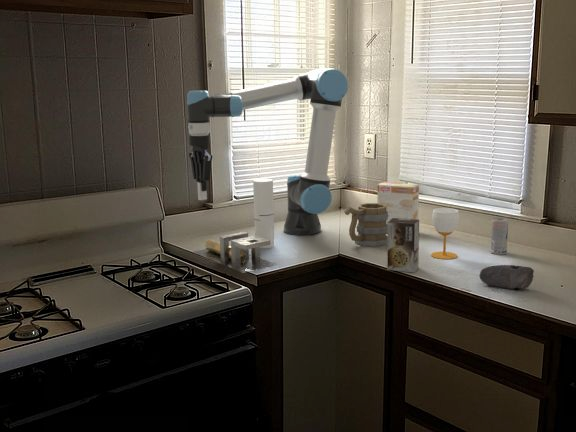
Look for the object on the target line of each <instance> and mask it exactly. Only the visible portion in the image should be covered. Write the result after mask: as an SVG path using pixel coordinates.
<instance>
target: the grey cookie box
mask: <svg viewBox="0 0 576 432" xmlns="http://www.w3.org/2000/svg"><path fill="white" fill-rule="evenodd" d="M387 227H388V233H387V236H388V244H387V258H386V260H387V263H386V264H387V267H386V270H387V271H396V272H406V273H415V272H416V271H417V270H418V269H419V264H420V263H419V260H420V259H419V258H420V257H419V253H420V252H419V251H420V250H419V249H420V219H418V220H415V219H401V218H392V219H391V220H390V221H389V222H387Z"/></svg>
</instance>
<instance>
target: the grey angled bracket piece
mask: <svg viewBox="0 0 576 432" xmlns="http://www.w3.org/2000/svg"><path fill="white" fill-rule="evenodd" d="M246 237H249V232H246V231H240V232H236V233H232V234H225V235H221V236H219V243H220V254H221V261H223V262H227V261H229V246H230V244H229V242H231V240H236V239H241V238H246ZM240 250H241V251H243V252H244V253H245V257H249V254H250V252H249V251H250V249H247V250H244V249H241V248H240Z"/></svg>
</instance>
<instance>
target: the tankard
mask: <svg viewBox="0 0 576 432" xmlns="http://www.w3.org/2000/svg"><path fill="white" fill-rule="evenodd" d="M357 207H358V208H357V209H355V208H352V207H350V206H349V207H347V208H346V209H345V210H344V213H345V215H346V216H349V215H350V214H351V221H350V225H349V230H348V231H349V233H348V235H349V237H350V239H351V241H352V242H354V243H355V244H357V245H359V246H363V247H381V246H387V245H388V235H387V234H388V233H387V230H388V227H387V224H386V220H387V219H388V211H386V205H384V204H378V203H377V202H372V203H371V202H367V203H366V202H365V203H361V204H359V205H358V206H357ZM356 233H357V234H356Z"/></svg>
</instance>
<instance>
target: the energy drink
mask: <svg viewBox="0 0 576 432" xmlns="http://www.w3.org/2000/svg"><path fill="white" fill-rule="evenodd" d="M508 232H509V220H508V219H507V218H504V217H495V218H492V220H491V234H490V235H491V236H490V253H491V254H493V255H497V256H498V255H499V256H502V255H506V254H507V250H508V249H507V248H508Z"/></svg>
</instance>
